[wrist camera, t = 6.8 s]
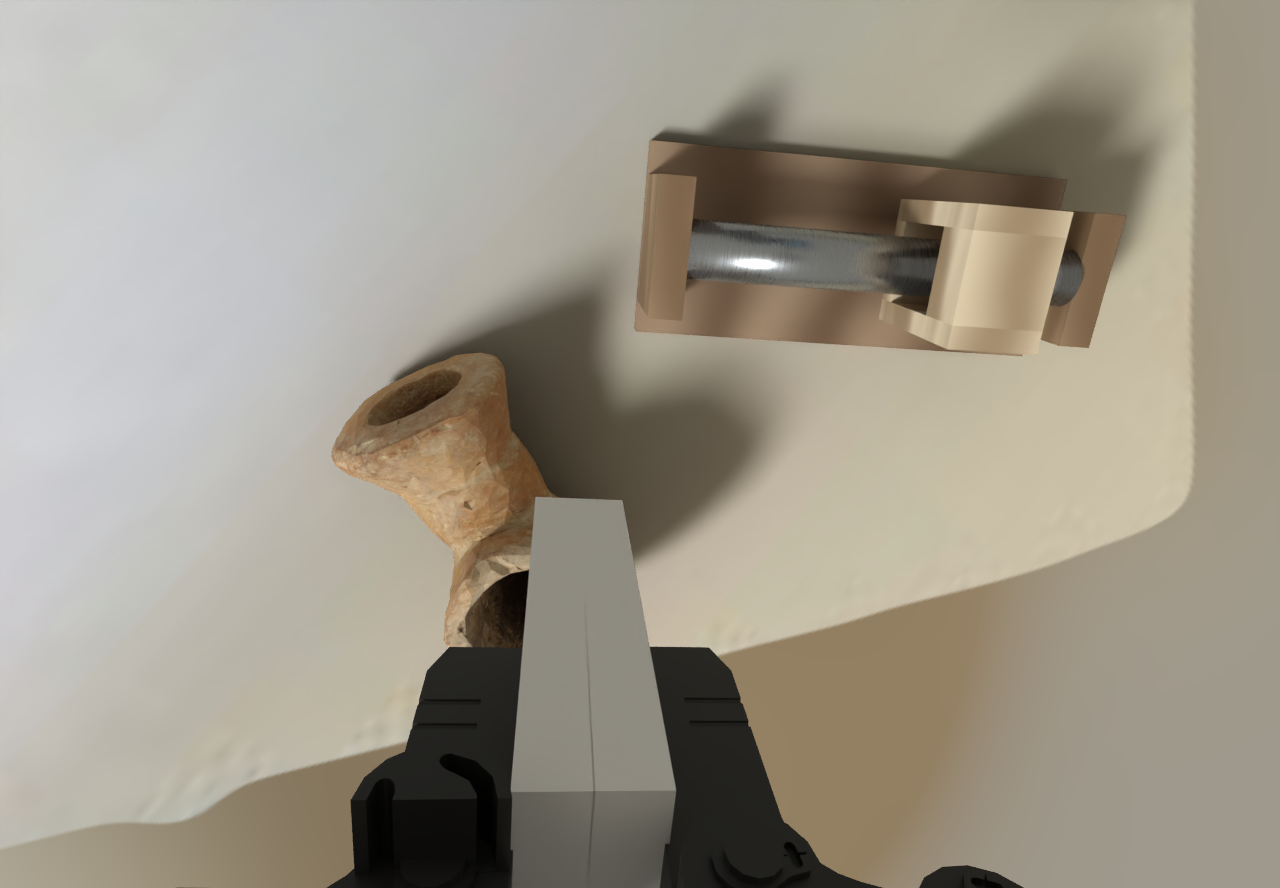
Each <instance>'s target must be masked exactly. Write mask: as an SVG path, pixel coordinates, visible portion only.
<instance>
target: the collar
mask: <svg viewBox="0 0 1280 888" xmlns="http://www.w3.org/2000/svg"><path fill="white" fill-rule="evenodd" d="M1073 213H1074V212H1067V211H1056V210H1045V209H1033V208H1022V207H1011V206H1000V205H989V204H977V203H961V202H944V201H928V200H911V199H901V202H900V208H899V213H898V218H897V224H896V229H895V234H894V235H896V236H908V237H920V238H932V239H942V241H941V245H940V250H939V255H938V260H937V265H936V269H935V274H934V279H933V284H932V289H931V293H930V297H921V296H907V295H894V294H883V298H882V304H881V309H880V314H879V319H880V320H882V321H885V322H887V323H889V324H891V325H894V326H896V327H898V328H900V329H903V330H905V331H907V332H909V333H912V334H914V335H916V336H918V337H921V338H923V339H925V340H927V341H930V342H932V343H934V344H936V345H939V346H941V347H943V348H945V349H949V350H965V351H980V352H996V353H1011V354H1027V355H1037V351H1038V347H1039V343H1040V339H1041V335H1042V332H1043V328H1044V324H1045V320H1046V316H1047V313H1048V309H1049V305H1050V301H1051V297H1052V293H1053V290H1054V286H1055V282H1056V278H1057V274H1058V270H1059V267H1060V263H1061V259H1062V255H1063V251H1064V247H1065V244H1066V240H1067V236H1068V232H1069V228H1070V224H1071V221H1072V217H1073Z"/></svg>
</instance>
